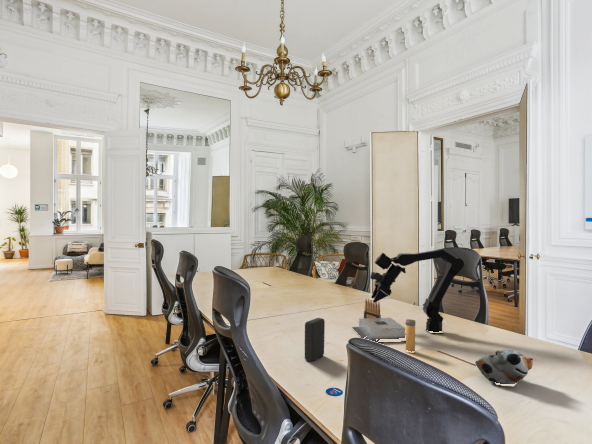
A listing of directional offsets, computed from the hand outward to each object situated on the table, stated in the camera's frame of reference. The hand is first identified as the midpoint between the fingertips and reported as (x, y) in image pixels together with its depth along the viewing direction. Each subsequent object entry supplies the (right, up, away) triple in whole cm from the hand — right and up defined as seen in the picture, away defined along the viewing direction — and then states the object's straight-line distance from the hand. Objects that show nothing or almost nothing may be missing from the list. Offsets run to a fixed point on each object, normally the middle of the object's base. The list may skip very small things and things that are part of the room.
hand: (372, 300), depth 170 cm
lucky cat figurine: (+33, -15, -54) cm, 65 cm away
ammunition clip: (+2, -15, +12) cm, 19 cm away
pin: (+9, -15, -30) cm, 34 cm away
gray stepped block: (+2, -15, -8) cm, 17 cm away
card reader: (-32, -15, -37) cm, 51 cm away
